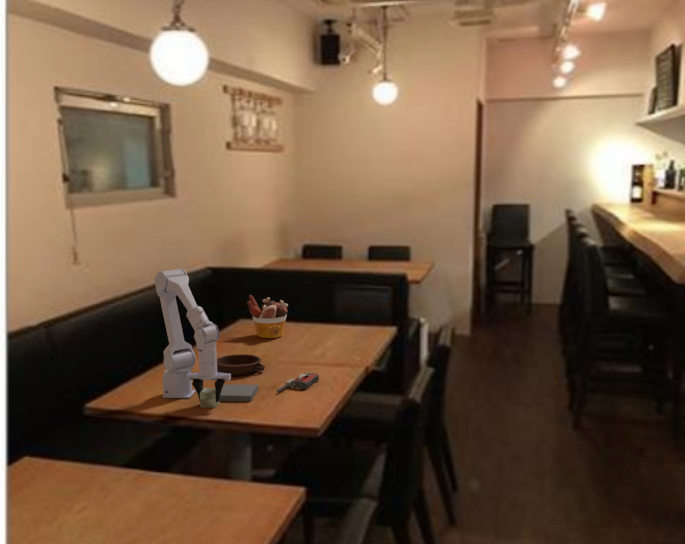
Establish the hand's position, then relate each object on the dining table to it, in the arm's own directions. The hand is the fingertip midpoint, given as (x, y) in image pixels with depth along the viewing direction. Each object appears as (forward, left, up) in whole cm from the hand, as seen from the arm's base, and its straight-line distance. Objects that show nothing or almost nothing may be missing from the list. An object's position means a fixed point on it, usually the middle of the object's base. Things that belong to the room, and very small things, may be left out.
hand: (209, 400), depth 223 cm
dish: (0, +39, -2) cm, 39 cm away
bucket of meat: (+1, +97, -2) cm, 97 cm away
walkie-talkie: (+27, +21, -2) cm, 34 cm away
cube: (0, 0, -1) cm, 1 cm away
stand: (+7, +10, -1) cm, 12 cm away
